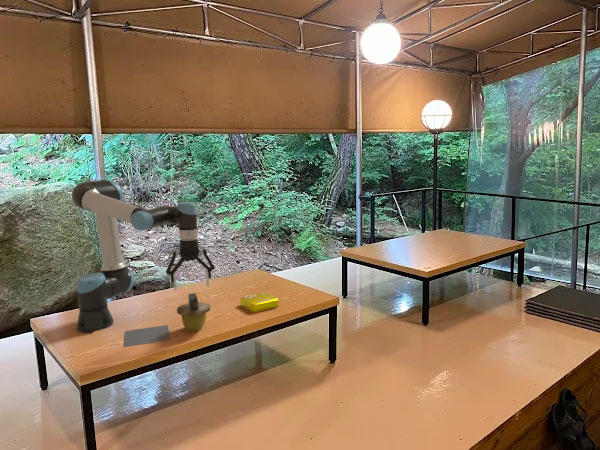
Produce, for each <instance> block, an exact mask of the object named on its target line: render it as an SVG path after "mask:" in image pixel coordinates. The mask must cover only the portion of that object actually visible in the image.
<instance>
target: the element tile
mask: <svg viewBox="0 0 600 450" xmlns="http://www.w3.org/2000/svg"><path fill="white" fill-rule="evenodd" d="M239 302H240V303H239V304H240V307H241V308H243V309H244V310H247V311H248V312H250V313H252V314H253V313H259V312H263V311H267V310H271V309H277V308H279V305H280V304H279V298H278V297H276V296H274V295H272V294H269V293H268V292H266V291H265V292H264V291H263V292H259V293H254V294H250V295H245V296H241V297H240V298H239Z"/></svg>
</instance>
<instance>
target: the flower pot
mask: <svg viewBox="0 0 600 450" xmlns="http://www.w3.org/2000/svg"><path fill="white" fill-rule="evenodd" d="M180 316H181V319H182V321H181V322H182V325H183V327H184V328H185V330H186V331H187V332H199V331H201V330H202V329H203V327H204V325H205V322H206V318H207V312H206V313H204V314H200V315H194V316H184V315H180Z"/></svg>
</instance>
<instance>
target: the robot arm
mask: <svg viewBox="0 0 600 450" xmlns="http://www.w3.org/2000/svg"><path fill="white" fill-rule="evenodd" d="M122 199H123V190H122V188H121V187H120V185H119V184H118V183H117V182H116V181H114V180H111V179H100V180H99V179H98V180H91V181H90V180H89V181H83V182H80V183H78V184H77V185H75V186H74V187H73V189H72V192H71V200H72V202H73V204H74V205H75V206H76V207H77V208H79V209H81V210H84V211H87V212H92V213H94V215H95V218H96V224H97V229H98V237H99V245H100V250H101V251H100V252H101V260H102V265H101V268H100V272H92V273H87V274H85V275H82V276H80V277H79V278H78V279H77V281H76V292H77V299H78V300H77V301H78V310H79V314H78V317H77V321H76V329H77V331H78V330H79V331H78V332H80V331H82V332H81V333H94V332H96V331H101V330H104V329H107V328H110V327H111V326H113V324H114V318H113V316H112V314H111V311H110V310H109V306H108V300H109V299H112V298H114V297H117V296H120V295H124V294H125V293H127V292H129V291H131V289H132V288H133V287H134V284H135V275H134V273H133V272H132V270H131V269H130V268H129V267H128V266H127V264H126V263H125V262H123V260H124V259H123V255H122V246H121V240H120V233H119V225H118V220H120V221H123V222H125V223H129V224H131V226H132V227H133V229H135V230H136V231H146V230H149V229H153V228H157V227H162V226H167V225H178V234H179V235H178V236H179V249H180V250H179V251H176V250H173V251H172V255H171V259H170V260H169V263H168V266H167V268H166V270H165V274H167V275H169V276H170V282H171V283H173V289H174V291H177V278H176V272H177V270H179V268H180V267H181V265H182V264H183V263H184V262H185V261H186V262H189V261H191V262H192V261H197V262H199V264H200V265H201V266H203V268H204V269H205V278H206V279H205V280H206V287H207V288H209V287H210V279H211V278H212V271H213V270H214V271H215V269H216V267H215V266H214V264H213V262H212V261H211V258H210V257H209V255H208V254H207V249H206V248H205V247H204V248H202V249H199V239H198V237H199V235H198V221H197V220H198V219H197V216H198V215H197V205H196V204H195V202H194V201H182V202H180V201H179V202H178V203H177V206H170V205H159V206H156V208H150V209H147V208H143V207H141V206H137V205H135V204H131V203H128V202H126V201H123V200H122ZM200 253H201V254H202V255H204V258H205V259H206V261H207V262H208V264H209V266H208V264H206V263H205V262H204V261H203V260H202V259H201V257H200V256H199V255H200ZM179 256H180V259H179V260H178V261H177V262H176V264H175V265H174V263H175V261H176V258H177V257H179ZM173 265H174V267H173ZM172 267H173V268H172Z"/></svg>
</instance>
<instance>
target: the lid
mask: <svg viewBox="0 0 600 450" xmlns="http://www.w3.org/2000/svg"><path fill="white" fill-rule="evenodd" d="M210 310H211V305H210V303H207V302H203V301H199V300H198V297H197V294H196V293H188V302H187V303H183V304H181V305H180V306H178V307H177V308H176V313H177V314H178V315H180V316H181V315H184V316H194V315H200V314H204V313H206V314H207V313H208V312H209V311H210Z"/></svg>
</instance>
